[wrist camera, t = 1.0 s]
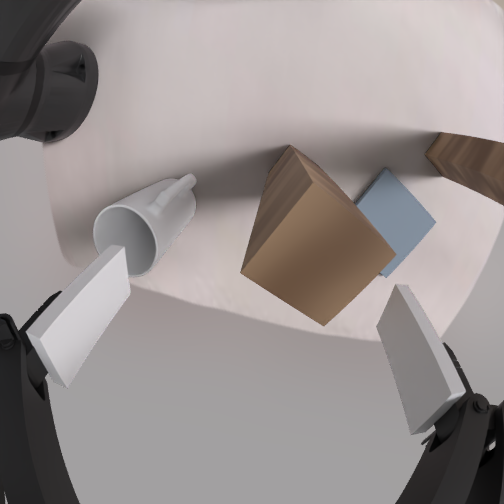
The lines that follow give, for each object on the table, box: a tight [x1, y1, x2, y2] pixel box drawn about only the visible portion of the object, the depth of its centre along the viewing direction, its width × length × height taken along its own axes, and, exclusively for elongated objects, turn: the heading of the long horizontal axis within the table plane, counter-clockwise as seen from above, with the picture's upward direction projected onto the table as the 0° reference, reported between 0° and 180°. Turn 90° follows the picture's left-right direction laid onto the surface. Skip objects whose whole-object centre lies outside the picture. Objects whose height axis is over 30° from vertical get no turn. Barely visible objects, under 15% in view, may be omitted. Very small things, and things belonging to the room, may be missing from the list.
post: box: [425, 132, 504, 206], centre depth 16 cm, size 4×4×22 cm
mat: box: [355, 168, 436, 278], centre depth 30 cm, size 10×10×1 cm
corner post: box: [240, 145, 397, 326], centre depth 19 cm, size 4×4×22 cm
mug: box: [93, 173, 197, 277], centre depth 26 cm, size 10×7×12 cm, turn 132°
